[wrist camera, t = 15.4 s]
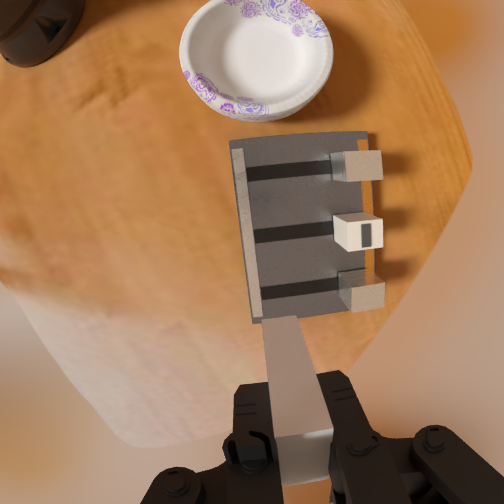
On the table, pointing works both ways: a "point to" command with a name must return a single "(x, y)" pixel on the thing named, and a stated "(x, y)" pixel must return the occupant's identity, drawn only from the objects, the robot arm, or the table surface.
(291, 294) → the panel
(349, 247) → the breaker
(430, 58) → the table surface
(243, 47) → the paper bowls
